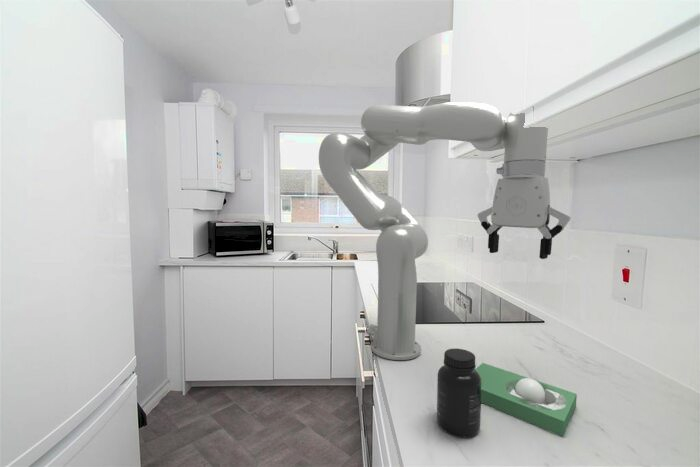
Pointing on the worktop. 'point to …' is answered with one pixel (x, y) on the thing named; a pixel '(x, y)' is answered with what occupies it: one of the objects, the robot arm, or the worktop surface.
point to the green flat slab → (504, 398)
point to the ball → (530, 390)
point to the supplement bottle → (459, 394)
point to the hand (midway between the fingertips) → (517, 255)
